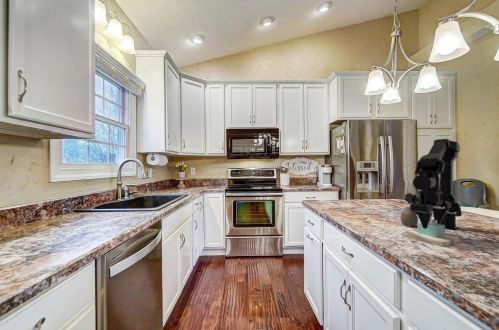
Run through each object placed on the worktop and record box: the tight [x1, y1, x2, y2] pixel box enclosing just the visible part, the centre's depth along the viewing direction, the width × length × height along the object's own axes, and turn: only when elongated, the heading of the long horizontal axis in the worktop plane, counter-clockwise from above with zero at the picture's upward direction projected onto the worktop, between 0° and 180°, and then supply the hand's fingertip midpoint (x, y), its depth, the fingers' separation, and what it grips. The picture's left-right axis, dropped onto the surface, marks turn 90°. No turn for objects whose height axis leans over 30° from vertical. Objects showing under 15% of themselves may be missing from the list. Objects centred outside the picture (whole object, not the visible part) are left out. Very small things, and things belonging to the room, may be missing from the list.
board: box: [401, 227, 464, 248], centre depth 88 cm, size 15×14×2 cm
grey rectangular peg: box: [429, 218, 437, 226], centre depth 88 cm, size 2×3×6 cm, turn 26°
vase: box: [400, 206, 419, 228], centre depth 105 cm, size 7×7×9 cm
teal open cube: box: [417, 222, 446, 238], centre depth 88 cm, size 6×6×4 cm
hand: (431, 226), depth 88 cm, fingers open, 9 cm apart
